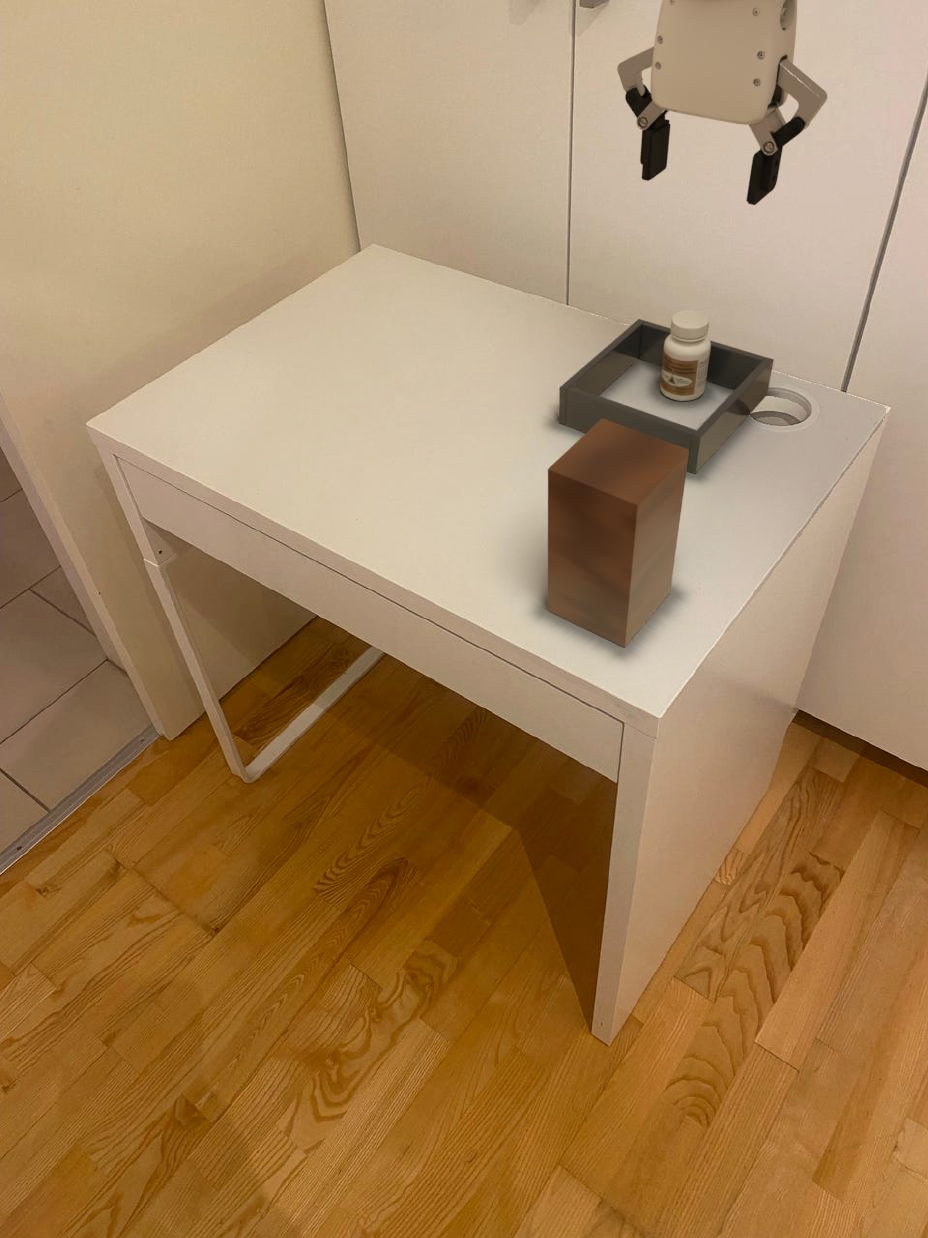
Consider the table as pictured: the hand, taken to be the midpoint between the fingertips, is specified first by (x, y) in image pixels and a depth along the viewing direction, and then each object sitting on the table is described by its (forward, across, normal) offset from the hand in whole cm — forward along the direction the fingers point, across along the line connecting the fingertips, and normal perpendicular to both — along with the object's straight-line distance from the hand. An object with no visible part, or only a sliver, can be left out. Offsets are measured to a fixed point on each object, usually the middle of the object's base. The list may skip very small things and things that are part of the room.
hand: (704, 186), depth 80 cm
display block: (+20, -10, +29) cm, 36 cm away
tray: (+20, 0, +4) cm, 20 cm away
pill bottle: (+20, 0, 0) cm, 20 cm away
